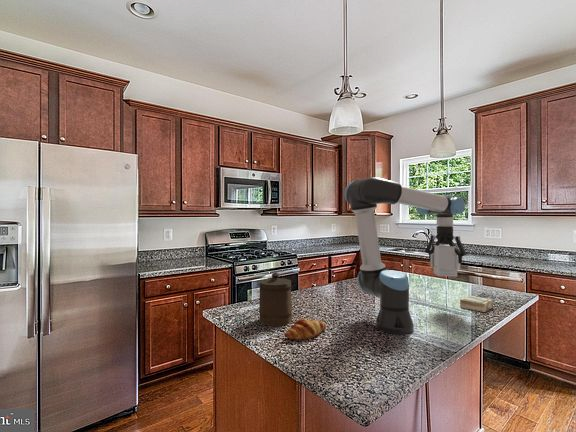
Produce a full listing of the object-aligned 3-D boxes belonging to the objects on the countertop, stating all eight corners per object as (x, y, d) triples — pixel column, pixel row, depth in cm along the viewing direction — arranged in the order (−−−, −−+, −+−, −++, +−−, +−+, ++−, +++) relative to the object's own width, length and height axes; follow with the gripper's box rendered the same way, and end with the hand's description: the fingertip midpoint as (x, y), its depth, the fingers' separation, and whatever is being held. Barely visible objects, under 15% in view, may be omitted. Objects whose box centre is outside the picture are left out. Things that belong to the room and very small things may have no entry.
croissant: (321, 334, 135) (315, 316, 138) (336, 330, 128) (329, 310, 131) (281, 346, 122) (276, 326, 125) (295, 342, 115) (289, 320, 118)
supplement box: (458, 276, 154) (457, 246, 154) (438, 276, 155) (438, 246, 155) (451, 273, 163) (451, 244, 163) (433, 273, 164) (432, 244, 164)
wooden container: (285, 313, 153) (284, 269, 153) (296, 323, 139) (296, 274, 139) (255, 317, 148) (255, 271, 148) (265, 328, 134) (264, 277, 134)
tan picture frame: (484, 312, 152) (484, 303, 151) (460, 307, 160) (460, 298, 160) (492, 307, 159) (492, 299, 158) (468, 302, 167) (468, 294, 167)
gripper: (473, 226, 152) (474, 270, 152) (425, 225, 171) (425, 264, 171) (467, 226, 147) (467, 272, 147) (418, 225, 166) (418, 266, 166)
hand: (445, 268), depth 159 cm, fingers closed on supplement box, 12 cm apart
